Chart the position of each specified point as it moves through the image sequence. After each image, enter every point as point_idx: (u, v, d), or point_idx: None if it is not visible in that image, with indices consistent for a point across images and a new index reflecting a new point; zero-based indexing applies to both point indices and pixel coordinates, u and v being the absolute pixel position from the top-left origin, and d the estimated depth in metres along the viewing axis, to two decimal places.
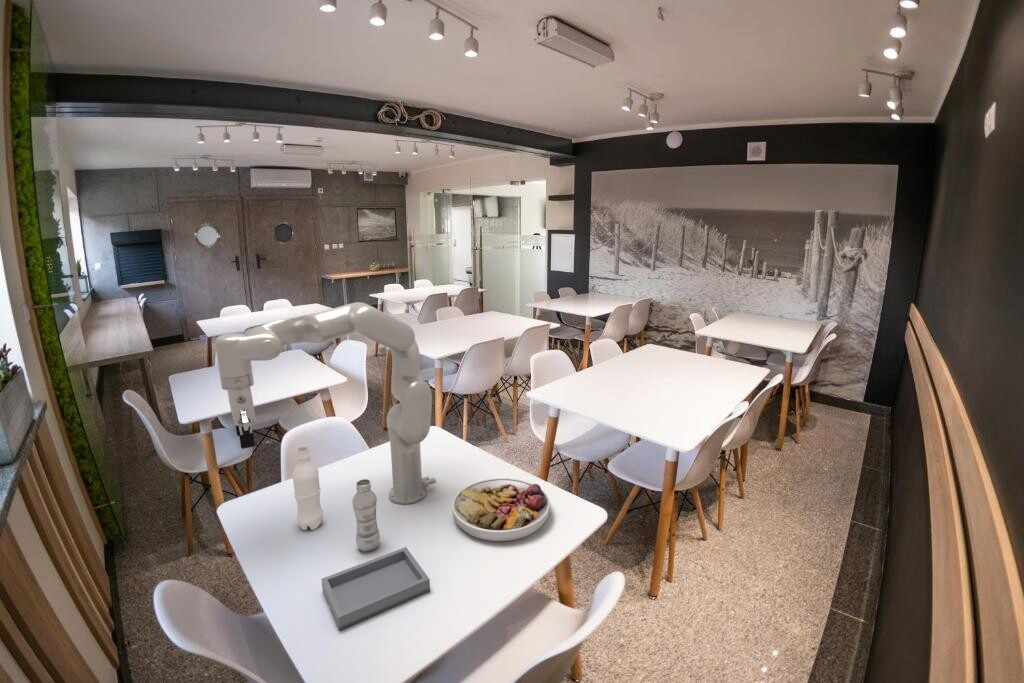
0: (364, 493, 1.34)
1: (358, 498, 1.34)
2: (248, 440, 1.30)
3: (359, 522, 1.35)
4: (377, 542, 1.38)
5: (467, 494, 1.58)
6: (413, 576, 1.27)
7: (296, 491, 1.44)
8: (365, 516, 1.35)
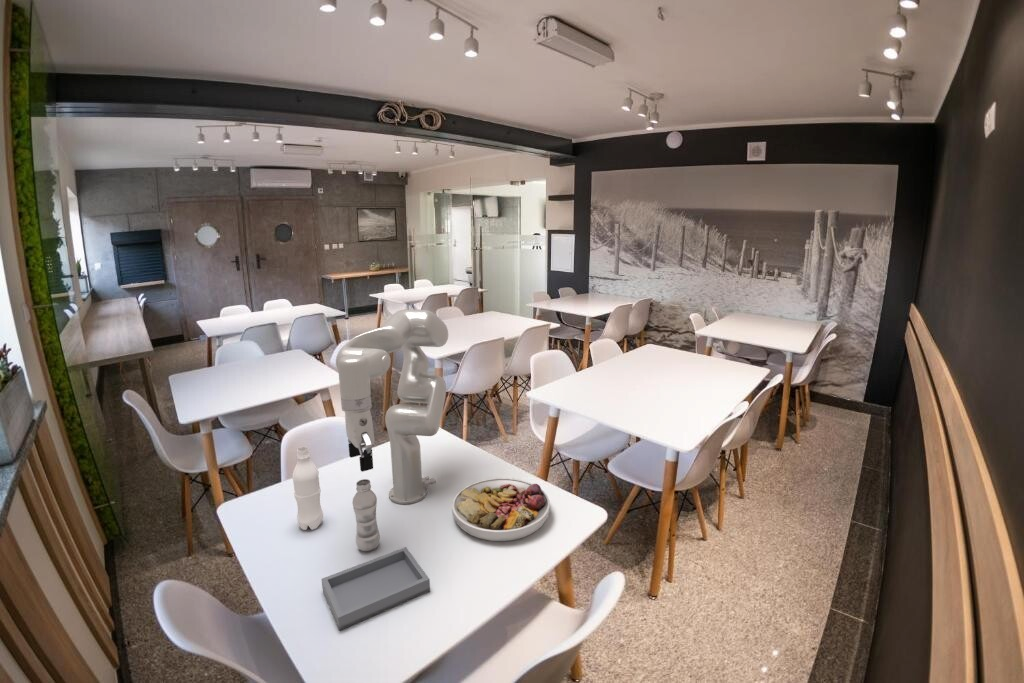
0: (364, 493, 1.34)
1: (358, 498, 1.34)
2: (368, 463, 1.28)
3: (359, 522, 1.35)
4: (377, 542, 1.38)
5: (467, 494, 1.58)
6: (413, 576, 1.27)
7: (296, 491, 1.44)
8: (365, 516, 1.35)
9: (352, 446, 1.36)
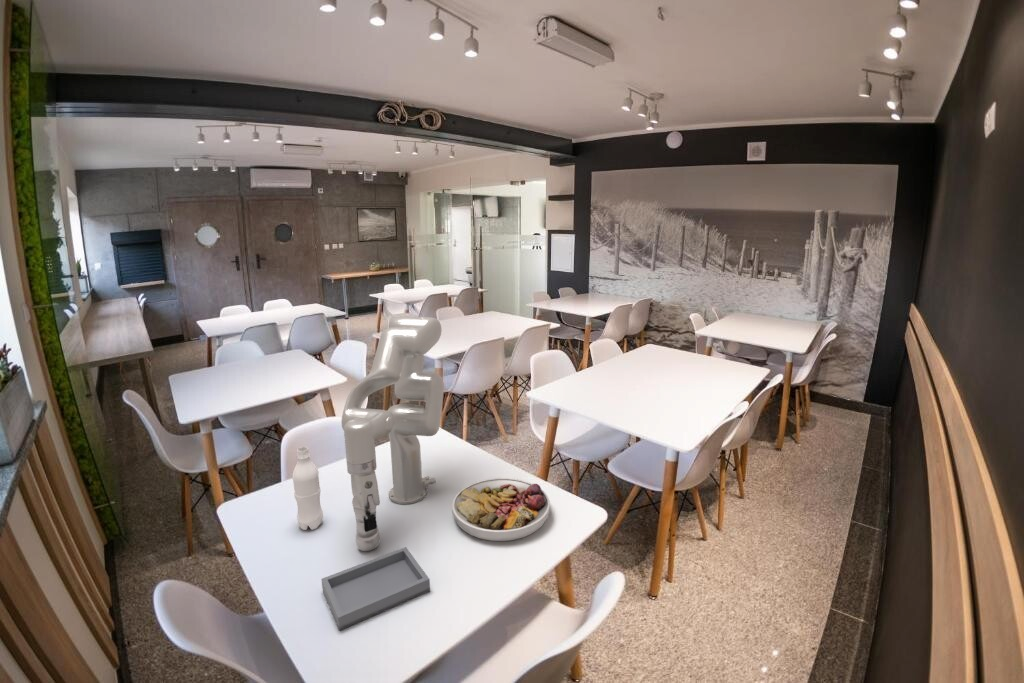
0: None
1: None
2: (372, 523, 1.34)
3: (359, 522, 1.35)
4: (377, 542, 1.38)
5: (467, 494, 1.58)
6: (413, 576, 1.27)
7: (296, 491, 1.44)
8: None
9: None
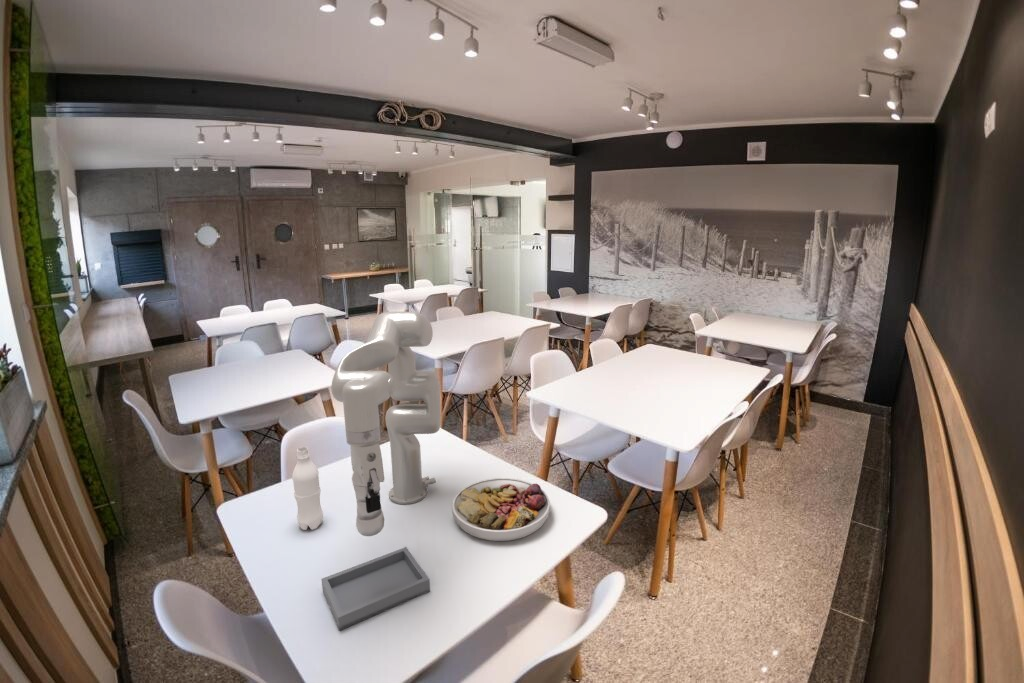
0: None
1: None
2: (375, 503, 1.14)
3: (360, 502, 1.15)
4: (381, 525, 1.18)
5: (467, 494, 1.58)
6: (413, 576, 1.27)
7: (296, 491, 1.44)
8: None
9: None
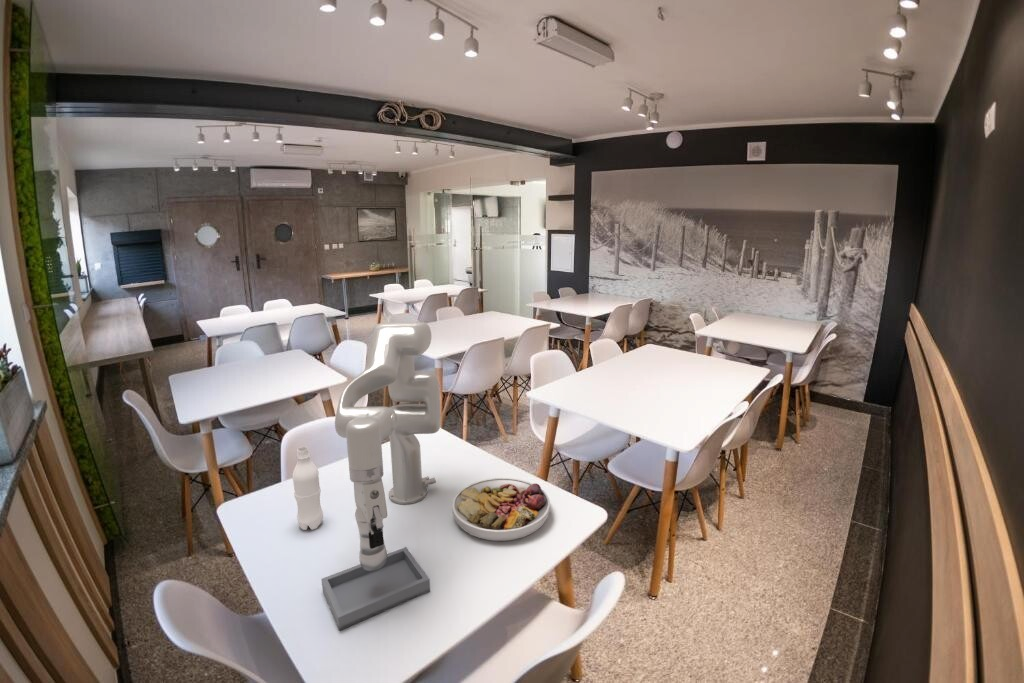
0: None
1: None
2: (378, 539, 1.16)
3: (363, 537, 1.17)
4: (384, 560, 1.20)
5: (467, 494, 1.58)
6: (413, 576, 1.27)
7: (296, 491, 1.44)
8: None
9: None
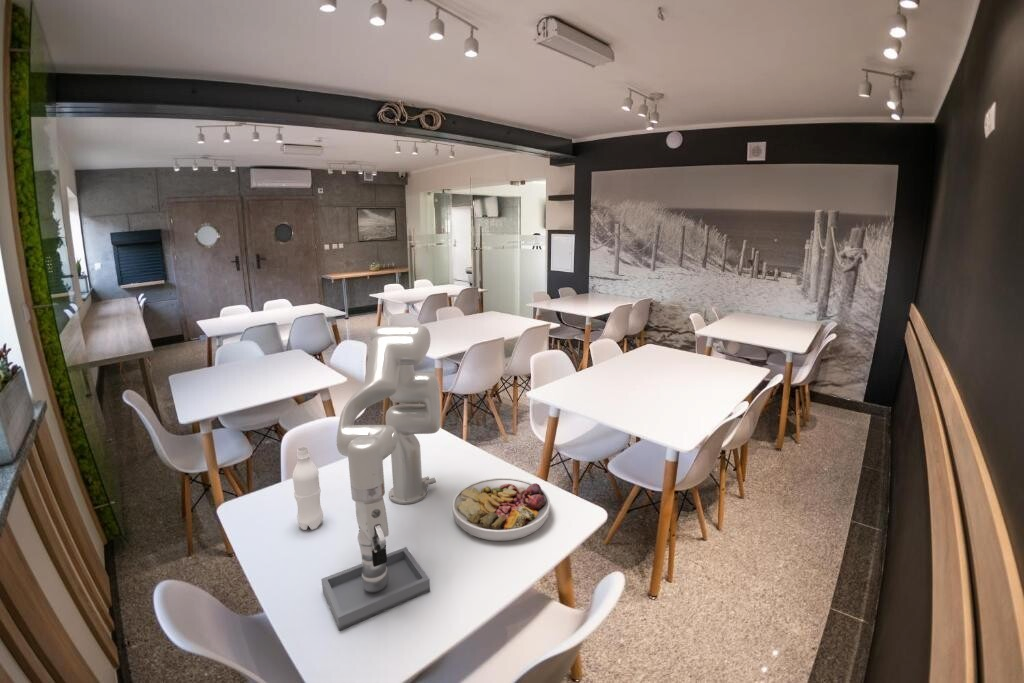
0: None
1: None
2: (381, 557, 1.16)
3: (365, 560, 1.19)
4: (385, 582, 1.21)
5: (467, 494, 1.58)
6: (413, 576, 1.27)
7: (296, 491, 1.44)
8: None
9: None
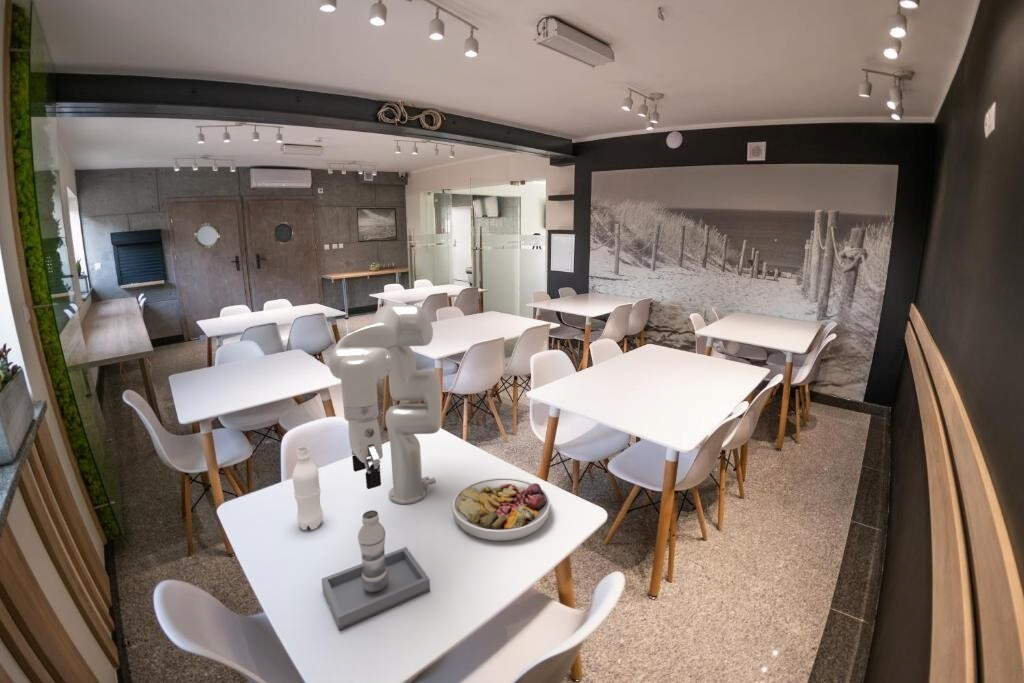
0: (371, 527, 1.18)
1: (364, 532, 1.17)
2: (375, 479, 1.12)
3: (365, 560, 1.19)
4: (385, 582, 1.22)
5: (467, 494, 1.58)
6: (413, 576, 1.27)
7: (296, 491, 1.44)
8: (373, 553, 1.18)
9: (356, 459, 1.20)
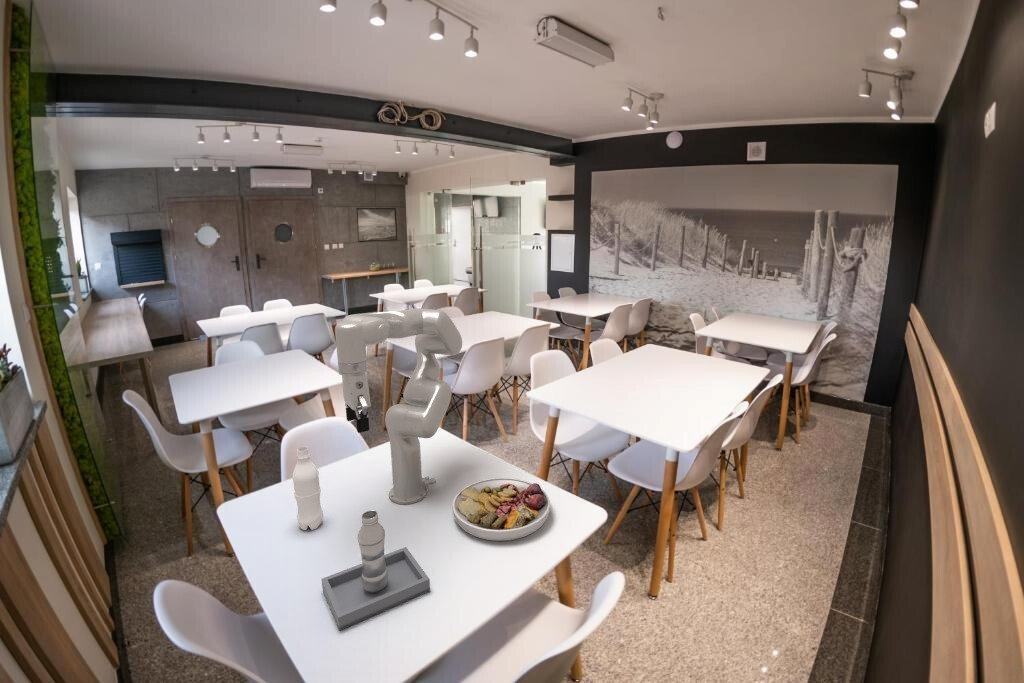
0: (371, 527, 1.18)
1: (364, 532, 1.17)
2: (364, 424, 1.35)
3: (365, 560, 1.19)
4: (385, 582, 1.22)
5: (467, 494, 1.58)
6: (413, 576, 1.27)
7: (296, 491, 1.44)
8: (372, 553, 1.18)
9: (349, 410, 1.42)
